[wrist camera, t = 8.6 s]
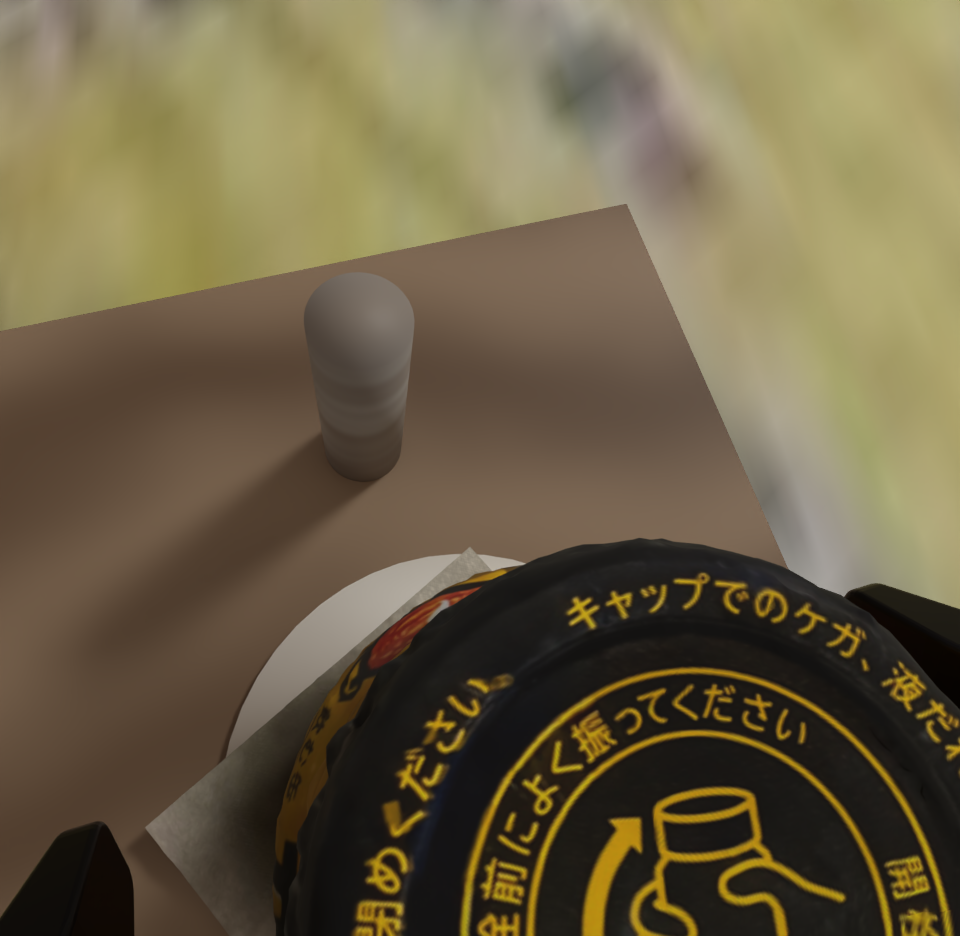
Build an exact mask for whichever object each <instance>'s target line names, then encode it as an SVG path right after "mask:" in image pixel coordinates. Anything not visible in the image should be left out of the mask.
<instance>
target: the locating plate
mask: <svg viewBox="0 0 960 936" xmlns="http://www.w3.org/2000/svg"><path fill="white" fill-rule="evenodd" d="M636 538H644V539H650V540H653V539H660V538H663V539H666V540H670V541H673V542H684V543H694V544H703V545H706V546H710V547H714V548H718V549H722V550H727V551H731V552H735V553H739V554H742V555H746V556H750V557H753V558H759V559H762V560H765V561H768V562H771V563H774V564H777V565H780V566H783V567H785V568H786V569H788V567H787V565H786V563H785V561H784V558H783V556H782V554H781V552H780V549H779V547H778V545H777V543H776V540H775V538H774V536H773V534H772V531H771V529H770V527H769V525H768V522H767V520H766V518H765V516H764V513H763V511H762V509H761V506H760V504H759V502H758V500H757V497H756V495H755V493H754V491H753V488H752V486H751V484H750V482H749V479H748V477H747V475H746V473H745V470H744V468H743V466H742V464H741V461H740V459H739V457H738V455H737V452H736V450H735V448H734V446H733V443H732V441H731V439H730V437H729V434H728V432H727V430H726V427H725V425H724V423H723V421H722V418H721V416H720V414H719V412H718V409H717V407H716V405H715V403H714V400H713V398H712V396H711V394H710V391H709V389H708V387H707V385H706V382H705V380H704V378H703V376H702V373H701V371H700V369H699V367H698V364H697V362H696V360H695V357H694V355H693V353H692V351H691V348H690V346H689V344H688V342H687V339H686V337H685V335H684V333H683V330H682V328H681V326H680V324H679V321H678V319H677V317H676V315H675V312H674V310H673V308H672V306H671V303H670V301H669V299H668V297H667V294H666V292H665V290H664V287H663V285H662V283H661V281H660V278H659V276H658V274H657V272H656V269H655V267H654V265H653V263H652V260H651V258H650V256H649V254H648V251H647V249H646V247H645V245H644V242H643V240H642V238H641V236H640V233H639V231H638V229H637V227H636V224H635V222H634V220H633V218H632V215H631V213H630V211H629V208H628V206H627V204H624V205H619V206H614V207H609V208H604V209H599V210H594V211H589V212H584V213H579V214H574V215H569V216H565V217H560V218H555V219H550V220H545V221H540V222H535V223H530V224H525V225H520V226H515V227H511V228H506V229H501V230H496V231H491V232H486V233H481V234H476V235H471V236H466V237H461V238H456V239H452V240H447V241H442V242H437V243H432V244H427V245H422V246H417V247H412V248H407V249H402V250H398V251H393V252H388V253H383V254H378V255H373V256H368V257H363V258H358V259H353V260H348V261H344V262H339V263H334V264H329V265H324V266H319V267H314V268H309V269H304V270H299V271H294V272H289V273H285V274H280V275H275V276H270V277H265V278H260V279H255V280H250V281H245V282H240V283H235V284H231V285H226V286H221V287H216V288H211V289H206V290H201V291H196V292H191V293H186V294H181V295H176V296H172V297H167V298H162V299H157V300H152V301H147V302H142V303H137V304H132V305H127V306H122V307H118V308H113V309H108V310H103V311H98V312H93V313H88V314H83V315H78V316H73V317H68V318H64V319H59V320H54V321H49V322H44V323H39V324H34V325H29V326H24V327H19V328H14V329H9V330H5V331H0V917H1V915H2V914H3V912H4V911H5V910H6V908H7V907H8V905H9V904H10V902H11V901H12V899H13V898H14V897H15V895H16V894H17V892H18V891H19V889H20V888H21V887H22V885H23V884H24V882H25V881H26V879H27V878H28V876H29V875H30V874H31V872H32V871H33V869H34V868H35V866H36V865H37V864H38V862H39V861H40V859H41V858H42V856H43V855H44V853H45V852H46V851H47V849H48V848H49V846H50V845H51V843H52V842H53V841H54V839H55V838H56V837H57V836H58V835H59V834H60V833H62V832H63V831H66V830H69V829H72V828H75V827H78V826H82V825H85V824H88V823H91V822H95V821H102V822H104V823H105V824H106V825H107V826H108V827H109V829H110V831H111V833H112V835H113V837H114V839H115V841H116V843H117V845H118V847H119V849H120V851H121V853H122V855H123V857H124V858H125V860H126V862H127V864H128V866H129V869H130V872H131V875H132V880H133V887H134V932H135V936H229V934H228V933H227V932H226V931H225V929H224V928H223V926H222V925H221V924H220V922H219V921H218V920H217V919H216V918H215V916H214V915H213V914H212V912H211V911H210V909H209V908H208V907H207V905H206V904H205V903H204V902H203V900H202V899H201V898H200V896H199V895H198V894H197V893H196V891H195V890H194V889H193V888H192V886H191V885H190V884H189V882H188V881H187V880H186V878H185V877H184V875H183V874H182V873H181V871H180V870H179V869H178V868H177V867H176V866H175V864H174V863H173V862H172V861H171V860H170V859H169V858H168V857H167V855H166V854H165V853H164V852H163V850H162V849H161V848H160V846H159V845H158V843H157V842H156V841H155V840H154V838H153V837H152V836H151V835H150V833H149V832H148V831H147V830H146V828H145V827H146V826H147V825H149V824H150V823H151V822H152V821H153V820H154V819H155V818H157V817H158V816H159V815H160V814H161V813H162V812H164V811H165V810H166V809H167V808H168V807H169V806H170V805H172V804H173V803H174V802H175V801H176V800H177V799H178V798H180V797H181V796H182V795H183V794H184V793H185V792H186V791H188V790H189V789H190V788H191V787H192V786H194V785H195V784H196V783H197V782H199V781H200V780H201V779H202V778H203V777H204V776H205V775H206V774H208V773H209V772H210V771H211V770H212V769H214V768H215V767H216V766H217V765H218V764H219V763H221V762H222V761H223V760H224V759H225V758H226V757H227V756H228V755H229V754H230V753H232V752H233V751H234V750H235V749H237V748H238V747H239V746H240V745H242V744H243V743H244V742H245V741H246V740H247V739H248V738H249V737H250V736H251V735H253V734H254V733H255V732H256V731H257V730H258V729H260V728H261V727H262V726H263V725H265V724H266V723H267V722H268V721H269V720H270V719H271V718H273V717H274V716H275V715H276V714H277V713H278V712H280V711H281V710H282V709H283V708H284V707H285V706H286V705H287V704H288V703H290V702H291V701H292V700H293V699H294V698H295V697H297V696H298V695H299V694H300V693H301V692H302V691H304V690H305V689H306V688H307V687H309V686H310V685H311V684H312V683H313V682H314V681H315V680H316V679H317V678H318V677H320V676H321V675H322V674H324V673H325V672H326V671H327V670H328V669H329V668H331V667H332V666H333V665H334V664H335V663H337V662H338V661H339V660H340V659H341V658H342V657H344V656H345V655H346V654H347V653H348V652H349V651H350V650H351V649H352V648H354V647H355V646H356V645H357V644H359V643H360V642H361V641H362V640H363V639H364V638H365V637H367V636H368V635H369V634H370V633H371V632H373V631H374V630H375V629H376V628H377V627H378V626H379V625H381V624H382V623H383V622H384V621H385V620H386V619H387V618H388V617H390V616H391V615H392V614H393V613H394V612H396V611H397V610H398V609H399V608H400V607H401V606H402V605H404V604H405V603H406V602H407V601H408V600H409V599H411V598H412V597H413V596H414V595H415V594H416V593H417V592H419V591H420V590H421V589H422V588H423V587H424V586H425V585H427V584H428V583H429V582H430V581H431V580H432V579H433V578H435V577H436V576H437V575H438V574H439V573H440V572H442V571H443V570H444V569H445V568H446V567H447V566H448V565H450V564H451V563H452V562H453V561H454V560H455V559H456V558H458V557H459V556H460V555H461V554H462V553H463V552H464V551H466V550H467V549H468V548H469V547H471V548H472V549H473V551H474V552H475V553H476V554H477V555H478V556H479V557H480V558H481V559H482V560H483V561H484V563H485V564H486V565H487V566H488V567H489V568H490V569H491V570H492V571H494V570H497V569H501V568H506V567H512V566H518V565H524V564H526V563H528V562H530V561H532V560H534V559H537V558H539V557H543V556H547V555H550V554H553V553H556V552H558V551H561V550H563V549H567V548H571V547H574V546H578V545H582V544H605V543H614V542H620V541H626V540H633V539H636Z"/></svg>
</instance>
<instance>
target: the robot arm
mask: <svg viewBox="0 0 960 936" xmlns="http://www.w3.org/2000/svg"><path fill="white" fill-rule="evenodd" d="M844 598H846V599H847V600H849V601H850V602H852V603H853V604H855V605H856V606H857V607H859V608H861V609H863V610H865V611H867V612H869V613H870V614H871V615H872V616H873V617H874V618H875V620H876V621H877V623H879V624H880V625H882V626H883V627H884V628H886V629H887V630H889V631H890V633H891V634H892V635H893V636H894V637H895V638H896V639H897V640H898V641H899V642H900V644H901V645H902V646H903V647H904V648H905V649H906V650H907V651H908V653H909V654H910V655H911V656H912V657H913V659H914V660H915V661H916V662H917V663H918V665H919V666H920V667H921V668H922V669H923V671H924V672H925V673H926V674H927V675H928V677H929V678H930V679H931V680H932V681H933V683H934V684H935V685H936V686H937V687H938V688H939V690H941V691H942V692H943V693H944V694H945V695H946V696H947V697H948V698H949V699H950V700H951V701H952V702H953V703H954V704H955V705H956V706H957V707H958V708H959V709H960V609H957V608H954V607H951V606H948V605H945V604H942V603H939V602H936V601H933V600H930V599H927V598H924V597H920V596H917V595H914V594H911V593H908V592H905V591H902V590H899V589H896V588H893V587H890V586H886V585H883V584H878V583H875V584H869V585H866V586H863V587H860V588H856V589H853V590H850V591H849V592H847V594H846V595H845V597H844ZM0 936H135V932H134V887H133V880H132V875H131V872H130V869H129V866H128V864H127V862H126V860H125V858H124V857H123V855H122V853H121V851H120V849H119V847H118V845H117V843H116V841H115V839H114V837H113V835H112V833H111V831H110V829H109V827H108V826H107V825H106V824H105V823H104V822H102V821H95V822H91V823H88V824H85V825H82V826H78V827H75V828H72V829H69V830H66V831H63V832H62V833H60V834H59V835H58V836H57V837H56V838H55V839H54V841H53V842H52V843H51V845H50V846H49V848H48V849H47V851H46V852H45V853H44V855H43V856H42V858H41V859H40V861H39V862H38V864H37V865H36V866H35V868H34V869H33V871H32V872H31V874H30V875H29V876H28V878H27V879H26V881H25V882H24V884H23V885H22V887H21V888H20V889H19V891H18V892H17V894H16V895H15V897H14V898H13V899H12V901H11V902H10V904H9V905H8V907H7V908H6V910H5V911H4V912H3V914H2V915H1V917H0Z"/></svg>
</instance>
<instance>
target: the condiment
mask: <svg viewBox="0 0 960 936" xmlns="http://www.w3.org/2000/svg"><path fill="white" fill-rule="evenodd" d="M145 828H146V830H147V831H148V832H149V833H150V835H151V836H152V837H153V838H154V840H155V841H156V842H157V843H158V845H159V846H160V848H161V849H162V850H163V852H164V853H165V854H166V855H167V857H168V858H169V859H170V860H171V861H172V862H173V863H174V864H175V866H176V867H177V868H178V869H179V870H180V871H181V873H182V874H183V875H184V877H185V878H186V880H187V881H188V882H189V884H190V885H191V886H192V888H193V889H194V890H195V891H196V893H197V894H198V895H199V896H200V898H201V899H202V900H203V902H204V903H205V904H206V905H207V907H208V908H209V909H210V911H211V912H212V914H213V915H214V916H215V918H216V919H217V920H218V921H219V922H220V924H221V925H222V926H223V928H224V929H225V931H226V932H227V933H228V934H229V936H960V709H959V708H958V707H957V706H956V705H955V704H954V703H953V702H952V701H951V700H950V699H949V698H948V697H947V696H946V695H945V694H944V693H943V692H942V691H941V690H939V688H938V687H937V686H936V685H935V684H934V683H933V681H932V680H931V679H930V678H929V677H928V675H927V674H926V673H925V672H924V671H923V669H922V668H921V667H920V666H919V665H918V663H917V662H916V661H915V660H914V659H913V657H912V656H911V655H910V654H909V653H908V651H907V650H906V649H905V648H904V647H903V646H902V645H901V644H900V642H899V641H898V640H897V639H896V638H895V637H894V636H893V635H892V634H891V633H890V631H889V630H887V629H886V628H884V627H883V626H882V625H880V624H879V623H877V621H876V620H875V618H874V617H873V616H872V615H871V614H870V613H869V612H867V611H865V610H863V609H861V608H859V607H857V606H856V605H855V604H853V603H852V602H850V601H849V600H847V599H846V598H844V597H843V596H841V595H839V594H836V593H834V592H831V591H828V590H825V589H823V588H819V587H817V586H816V585H815V584H813V583H811V582H809V581H808V580H806V579H804V578H802V577H801V576H799V575H797V574H795V573H794V572H792V571H790V570H788V569H786V568H785V567H783V566H780V565H777V564H774V563H771V562H768V561H765V560H762V559H759V558H753V557H750V556H746V555H742V554H739V553H735V552H731V551H727V550H722V549H718V548H714V547H710V546H706V545H703V544H694V543H684V542H673V541H670V540H666V539H663V538H660V539H653V540H650V539H644V538H636V539H633V540H626V541H620V542H614V543H605V544H582V545H578V546H574V547H571V548H567V549H563V550H561V551H558V552H556V553H553V554H550V555H547V556H543V557H539V558H537V559H534V560H532V561H530V562H528V563H526V564H524V565H518V566H512V567H506V568H501V569H497V570H494V571H492V570H491V569H490V568H489V567H488V566H487V565H486V564H485V563H484V561H483V560H482V559H481V558H480V557H479V556H478V555H477V554H476V553H475V552H474V551H473V549H472V548H471V547H469V548H468V549H467V550H466V551H464V552H463V553H462V554H461V555H460V556H459V557H458V558H456V559H455V560H454V561H453V562H452V563H451V564H450V565H448V566H447V567H446V568H445V569H444V570H443V571H442V572H440V573H439V574H438V575H437V576H436V577H435V578H433V579H432V580H431V581H430V582H429V583H428V584H427V585H425V586H424V587H423V588H422V589H421V590H420V591H419V592H417V593H416V594H415V595H414V596H413V597H412V598H411V599H409V600H408V601H407V602H406V603H405V604H404V605H402V606H401V607H400V608H399V609H398V610H397V611H396V612H394V613H393V614H392V615H391V616H390V617H388V618H387V619H386V620H385V621H384V622H383V623H382V624H381V625H379V626H378V627H377V628H376V629H375V630H374V631H373V632H371V633H370V634H369V635H368V636H367V637H365V638H364V639H363V640H362V641H361V642H360V643H359V644H357V645H356V646H355V647H354V648H352V649H351V650H350V651H349V652H348V653H347V654H346V655H345V656H344V657H342V658H341V659H340V660H339V661H338V662H337V663H335V664H334V665H333V666H332V667H331V668H329V669H328V670H327V671H326V672H325V673H324V674H322V675H321V676H320V677H318V678H317V679H316V680H315V681H314V682H313V683H312V684H311V685H310V686H309V687H307V688H306V689H305V690H304V691H302V692H301V693H300V694H299V695H298V696H297V697H295V698H294V699H293V700H292V701H291V702H290V703H288V704H287V705H286V706H285V707H284V708H283V709H282V710H281V711H280V712H278V713H277V714H276V715H275V716H274V717H273V718H271V719H270V720H269V721H268V722H267V723H266V724H265V725H263V726H262V727H261V728H260V729H258V730H257V731H256V732H255V733H254V734H253V735H251V736H250V737H249V738H248V739H247V740H246V741H245V742H244V743H243V744H242V745H240V746H239V747H238V748H237V749H235V750H234V751H233V752H232V753H230V754H229V755H228V756H227V757H226V758H225V759H224V760H223V761H222V762H221V763H219V764H218V765H217V766H216V767H215V768H214V769H212V770H211V771H210V772H209V773H208V774H206V775H205V776H204V777H203V778H202V779H201V780H200V781H199V782H197V783H196V784H195V785H194V786H192V787H191V788H190V789H189V790H188V791H186V792H185V793H184V794H183V795H182V796H181V797H180V798H178V799H177V800H176V801H175V802H174V803H173V804H172V805H170V806H169V807H168V808H167V809H166V810H165V811H164V812H162V813H161V814H160V815H159V816H158V817H157V818H155V819H154V820H153V821H152V822H151V823H150V824H149V825H147V826H146V827H145Z"/></svg>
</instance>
